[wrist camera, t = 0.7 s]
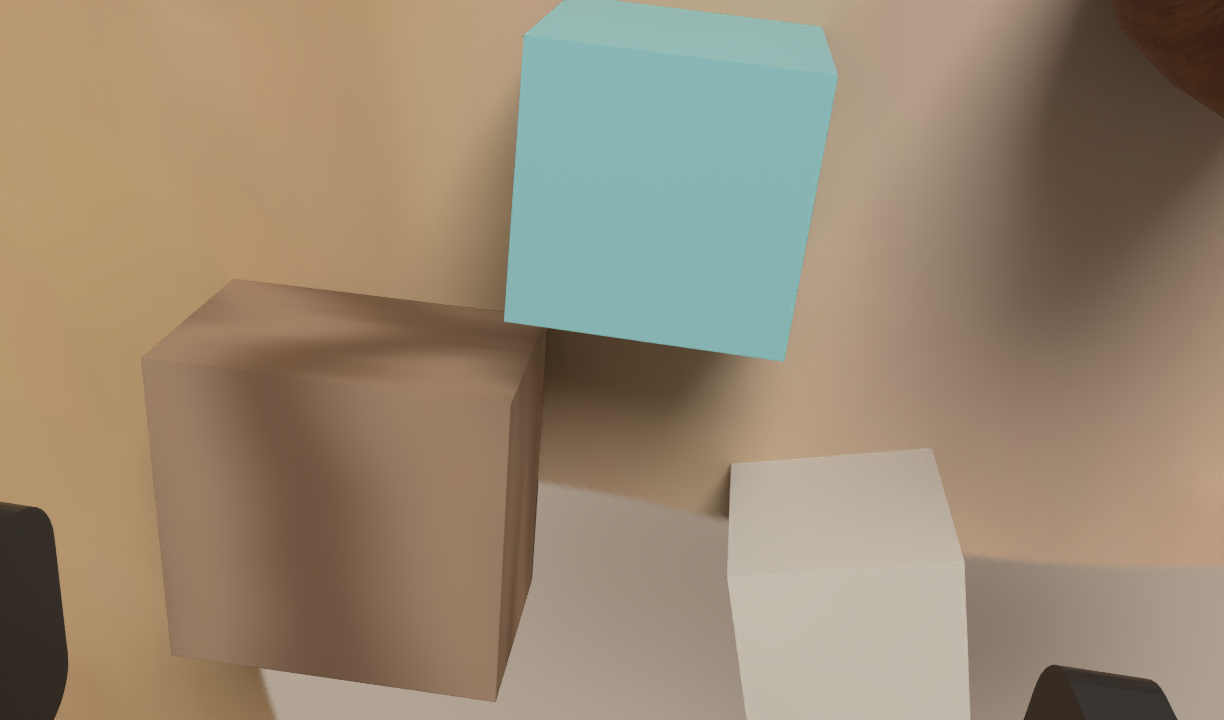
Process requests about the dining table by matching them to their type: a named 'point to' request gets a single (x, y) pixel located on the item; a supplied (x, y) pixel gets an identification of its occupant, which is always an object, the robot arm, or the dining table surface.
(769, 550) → the grey cube
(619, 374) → the dining table surface
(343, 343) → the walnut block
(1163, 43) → the wooden figurine
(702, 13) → the teal cube
